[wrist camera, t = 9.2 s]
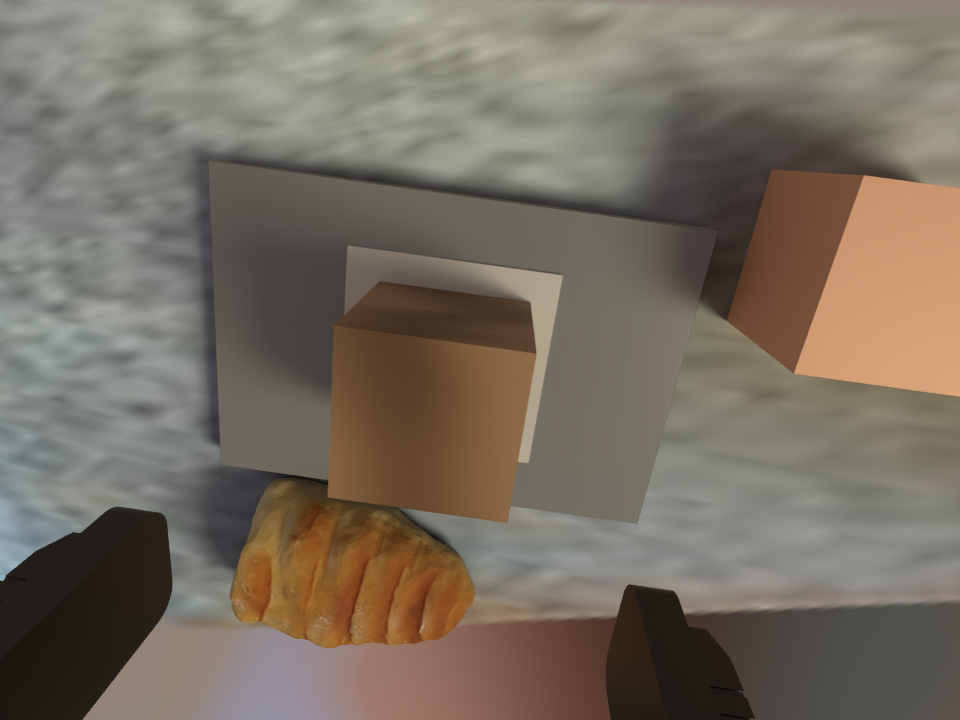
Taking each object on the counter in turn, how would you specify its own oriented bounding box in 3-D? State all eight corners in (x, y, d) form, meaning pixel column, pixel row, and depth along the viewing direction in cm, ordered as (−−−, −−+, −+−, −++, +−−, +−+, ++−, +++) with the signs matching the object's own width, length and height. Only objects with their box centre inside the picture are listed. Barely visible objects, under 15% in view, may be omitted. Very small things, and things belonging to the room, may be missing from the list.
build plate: (707, 227, 18) (719, 231, 17) (632, 508, 22) (638, 525, 21) (223, 160, 18) (206, 160, 17) (233, 451, 22) (219, 466, 21)
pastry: (495, 518, 23) (491, 587, 19) (453, 635, 25) (443, 715, 22) (271, 458, 22) (225, 517, 19) (251, 583, 25) (207, 656, 21)
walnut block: (530, 302, 18) (536, 353, 14) (508, 436, 20) (507, 522, 15) (379, 281, 18) (333, 325, 14) (370, 416, 20) (327, 497, 15)
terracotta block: (928, 190, 18) (1079, 204, 13) (869, 340, 19) (983, 399, 15) (770, 169, 18) (863, 175, 13) (725, 319, 19) (793, 373, 15)
